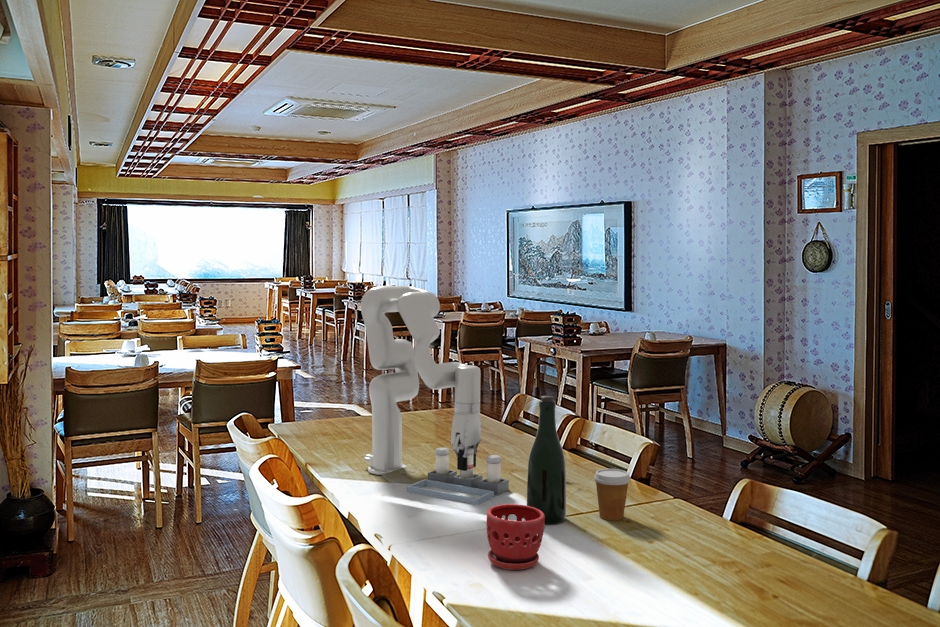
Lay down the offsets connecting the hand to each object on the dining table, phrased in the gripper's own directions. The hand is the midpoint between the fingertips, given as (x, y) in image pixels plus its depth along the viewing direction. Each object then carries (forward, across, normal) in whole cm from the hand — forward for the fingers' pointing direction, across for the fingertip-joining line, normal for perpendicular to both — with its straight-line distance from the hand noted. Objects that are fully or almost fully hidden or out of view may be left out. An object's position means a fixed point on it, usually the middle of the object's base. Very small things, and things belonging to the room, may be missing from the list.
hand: (466, 467), depth 242 cm
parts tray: (+7, +10, 0) cm, 12 cm away
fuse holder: (+7, 0, 0) cm, 7 cm away
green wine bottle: (+7, +11, +32) cm, 35 cm away
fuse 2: (+5, 0, +9) cm, 11 cm away
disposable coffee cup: (+7, 0, +46) cm, 46 cm away
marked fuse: (+4, 0, 0) cm, 4 cm away
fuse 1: (+6, 0, -9) cm, 10 cm away
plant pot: (+7, +43, +40) cm, 59 cm away
